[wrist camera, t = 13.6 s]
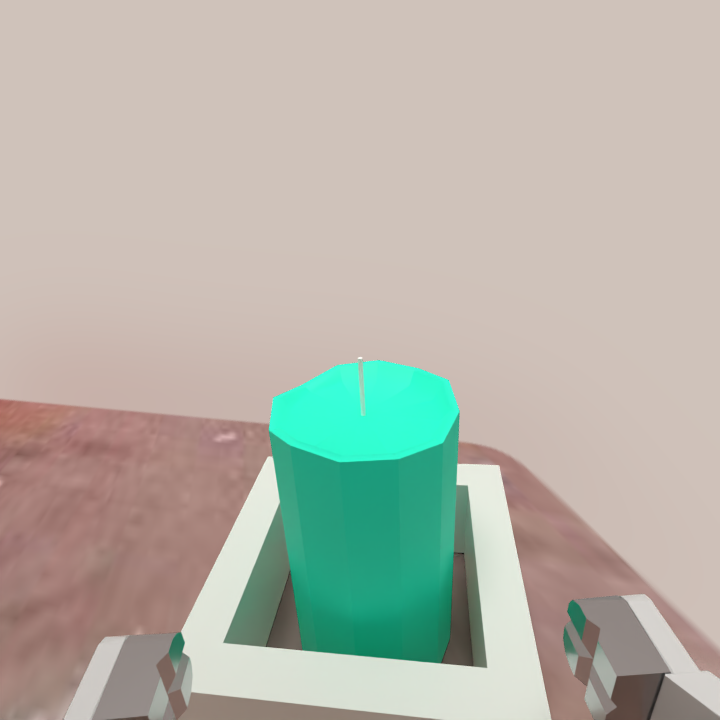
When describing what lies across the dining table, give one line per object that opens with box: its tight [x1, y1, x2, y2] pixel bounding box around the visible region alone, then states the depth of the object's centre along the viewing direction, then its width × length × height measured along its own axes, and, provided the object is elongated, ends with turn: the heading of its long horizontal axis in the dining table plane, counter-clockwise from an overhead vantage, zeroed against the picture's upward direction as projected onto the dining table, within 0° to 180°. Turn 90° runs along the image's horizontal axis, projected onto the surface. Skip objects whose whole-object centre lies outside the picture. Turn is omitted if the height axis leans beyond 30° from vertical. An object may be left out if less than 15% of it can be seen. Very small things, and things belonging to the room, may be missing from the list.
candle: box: [269, 357, 460, 664], centre depth 17 cm, size 6×6×12 cm
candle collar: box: [178, 457, 551, 720], centre depth 19 cm, size 11×11×4 cm
